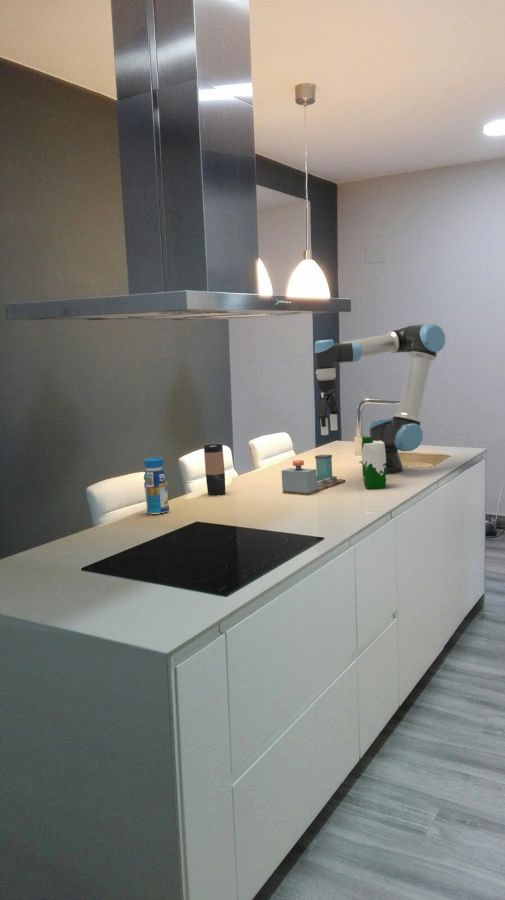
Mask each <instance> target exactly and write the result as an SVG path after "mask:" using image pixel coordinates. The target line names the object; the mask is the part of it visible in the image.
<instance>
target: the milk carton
mask: <svg viewBox="0 0 505 900" xmlns="http://www.w3.org/2000/svg"><path fill="white" fill-rule="evenodd" d="M361 439H362V441H361V462H362V463H361V464H362V465H361V466H362V477H363V478H362V480H363V483H364V487H365V489H366V490H367V491H368V490H381V489H382V490H383V489H386V488H387V487H386V485H387V484H386V483H387V474H386V452H385V444H384V442H382V441H373V437H370V436H363V437H362V438H361Z"/></svg>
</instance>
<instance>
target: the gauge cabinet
mask: <svg viewBox="0 0 505 900" xmlns="http://www.w3.org/2000/svg"><path fill="white" fill-rule="evenodd" d="M281 487H282V492H283V491H294V492H306V493H308V492H311V491H314V490H317V470H316V468H302V467H301V471H296V467H289V468H286V469H282V470H281Z"/></svg>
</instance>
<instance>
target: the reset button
mask: <svg viewBox="0 0 505 900" xmlns="http://www.w3.org/2000/svg"><path fill="white" fill-rule="evenodd" d="M292 466H293V467H295V468H296V471H301V468H302V466H305V461H304V460H303V459H297V460H292Z"/></svg>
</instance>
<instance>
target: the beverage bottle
mask: <svg viewBox="0 0 505 900" xmlns="http://www.w3.org/2000/svg"><path fill="white" fill-rule="evenodd" d="M143 462H144V463H143V464H144V468H145V469H146V471H145V472H144V475H143V480H144V483H143V487H144V493H145V501H146V503H145V504H146V513H147V514H148V513H163V512H166V511H168V512H169V511H170V507H169V497H168V481H167V474H166V471H164V469H163V468H164V458H163V457H150V458H148V457H147V458H146V459H144V461H143Z"/></svg>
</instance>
